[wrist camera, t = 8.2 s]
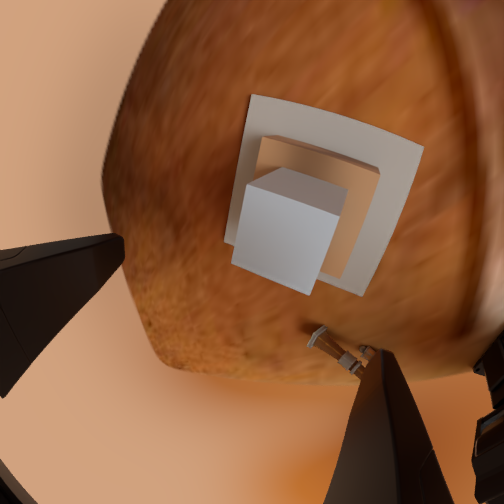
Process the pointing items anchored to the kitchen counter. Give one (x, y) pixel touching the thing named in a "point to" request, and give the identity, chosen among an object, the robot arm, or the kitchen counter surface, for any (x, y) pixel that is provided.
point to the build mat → (344, 142)
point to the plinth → (335, 172)
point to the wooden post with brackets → (340, 351)
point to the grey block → (287, 227)
